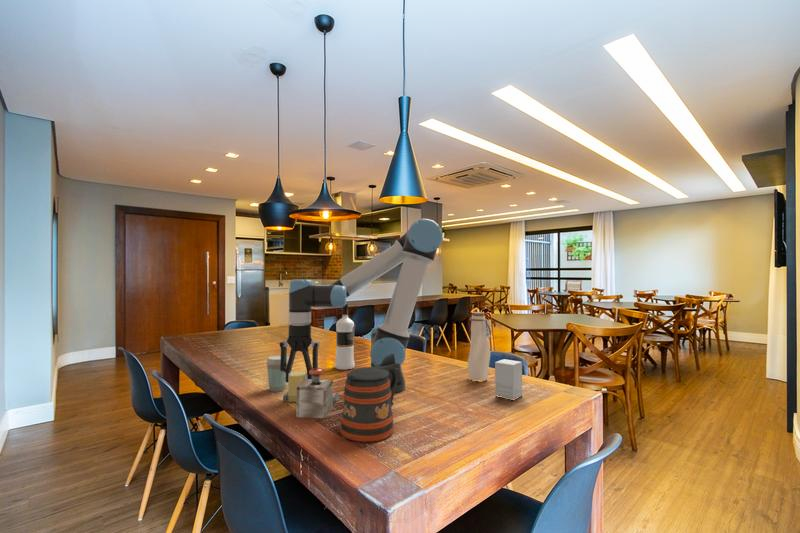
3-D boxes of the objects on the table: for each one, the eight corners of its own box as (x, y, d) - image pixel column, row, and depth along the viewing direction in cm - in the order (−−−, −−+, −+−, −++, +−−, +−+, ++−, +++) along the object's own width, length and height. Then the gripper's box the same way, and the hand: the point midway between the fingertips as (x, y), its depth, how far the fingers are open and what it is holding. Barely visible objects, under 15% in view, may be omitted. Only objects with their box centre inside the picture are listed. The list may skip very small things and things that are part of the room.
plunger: (323, 385, 122) (323, 368, 123) (320, 388, 118) (320, 371, 119) (311, 384, 123) (311, 367, 123) (307, 388, 119) (307, 371, 119)
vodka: (338, 365, 184) (339, 302, 185) (357, 366, 183) (357, 302, 183) (331, 369, 175) (332, 303, 176) (351, 370, 173) (351, 304, 174)
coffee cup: (282, 393, 139) (283, 360, 139) (261, 392, 141) (261, 359, 141) (293, 387, 147) (294, 355, 148) (273, 385, 149) (273, 354, 149)
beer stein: (374, 413, 120) (375, 349, 120) (413, 425, 111) (413, 355, 111) (329, 433, 104) (330, 359, 105) (369, 448, 96) (370, 367, 96)
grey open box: (332, 407, 125) (333, 379, 125) (325, 418, 116) (326, 387, 116) (305, 407, 125) (305, 379, 125) (296, 417, 116) (296, 387, 116)
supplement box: (523, 397, 138) (523, 361, 139) (513, 401, 133) (513, 364, 133) (504, 392, 143) (504, 358, 144) (494, 396, 138) (494, 361, 138)
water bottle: (495, 379, 162) (495, 312, 162) (487, 384, 154) (488, 314, 155) (472, 375, 167) (472, 311, 168) (464, 380, 159) (464, 312, 160)
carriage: (308, 396, 135) (308, 372, 135) (303, 401, 129) (303, 376, 129) (294, 396, 135) (294, 371, 136) (288, 401, 129) (288, 376, 130)
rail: (338, 398, 134) (339, 392, 134) (335, 403, 129) (335, 397, 129) (288, 397, 135) (288, 391, 135) (283, 401, 130) (283, 395, 130)
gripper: (328, 323, 136) (327, 389, 136) (278, 322, 137) (277, 388, 137) (322, 325, 129) (321, 396, 128) (270, 324, 130) (268, 394, 129)
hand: (298, 391), depth 132 cm, fingers closed on carriage, 5 cm apart
